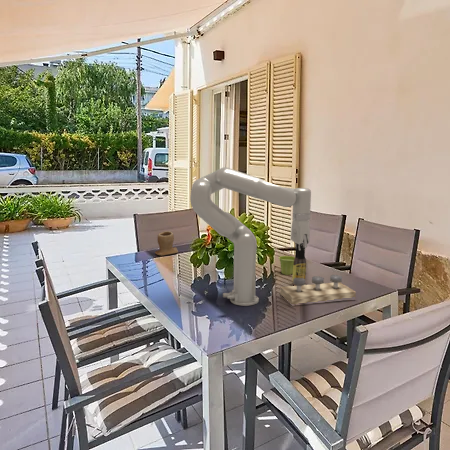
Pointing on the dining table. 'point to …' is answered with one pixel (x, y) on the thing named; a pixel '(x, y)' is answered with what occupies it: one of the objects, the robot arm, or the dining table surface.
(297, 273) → the sauce bottle
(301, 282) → the near knob
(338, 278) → the far knob
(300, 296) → the knob mount
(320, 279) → the middle knob
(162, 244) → the stone cup
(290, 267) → the plant pot
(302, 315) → the dining table surface
